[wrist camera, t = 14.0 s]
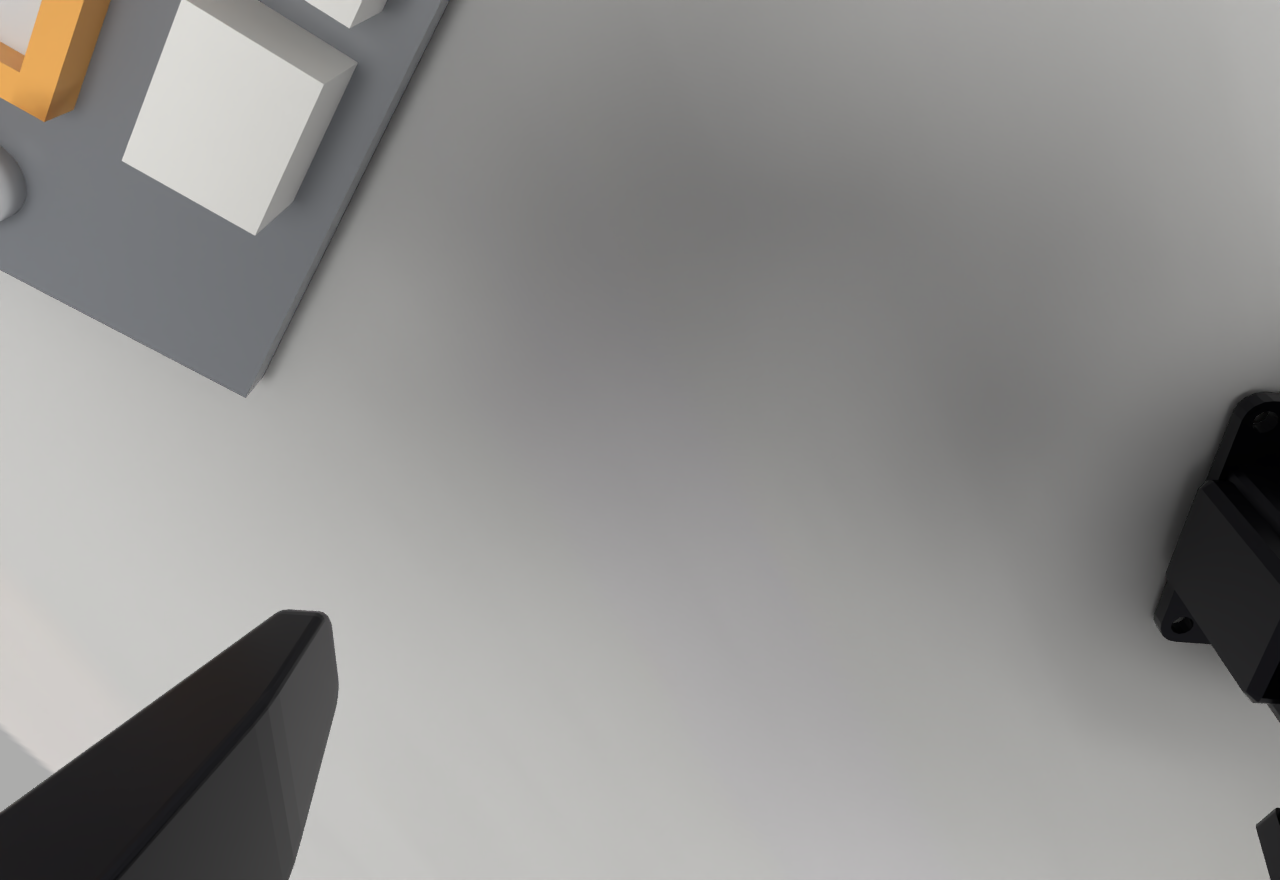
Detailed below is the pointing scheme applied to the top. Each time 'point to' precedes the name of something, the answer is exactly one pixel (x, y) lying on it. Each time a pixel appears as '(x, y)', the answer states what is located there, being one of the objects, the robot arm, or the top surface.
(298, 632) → the robot arm
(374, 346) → the top surface
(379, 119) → the panel
